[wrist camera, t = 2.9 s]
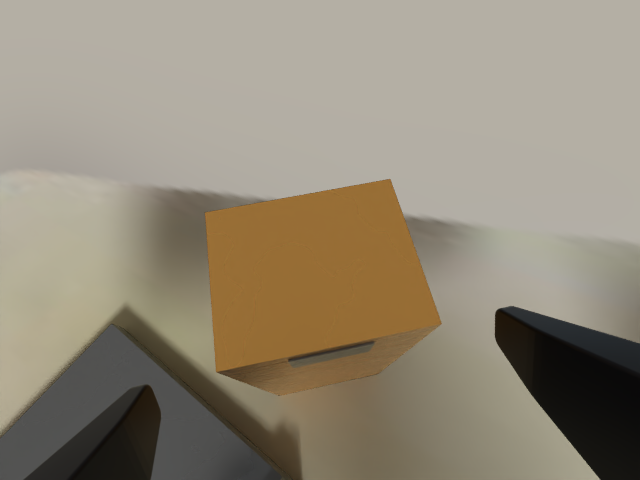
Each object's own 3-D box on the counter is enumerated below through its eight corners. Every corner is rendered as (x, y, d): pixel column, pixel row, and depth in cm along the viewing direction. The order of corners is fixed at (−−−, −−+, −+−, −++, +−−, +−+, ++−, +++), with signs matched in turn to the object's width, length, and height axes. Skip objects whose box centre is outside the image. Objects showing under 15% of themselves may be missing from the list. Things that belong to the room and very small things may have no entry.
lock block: (378, 374, 18) (442, 326, 8) (279, 397, 17) (216, 374, 8) (358, 297, 20) (390, 177, 10) (267, 315, 19) (204, 210, 9)
